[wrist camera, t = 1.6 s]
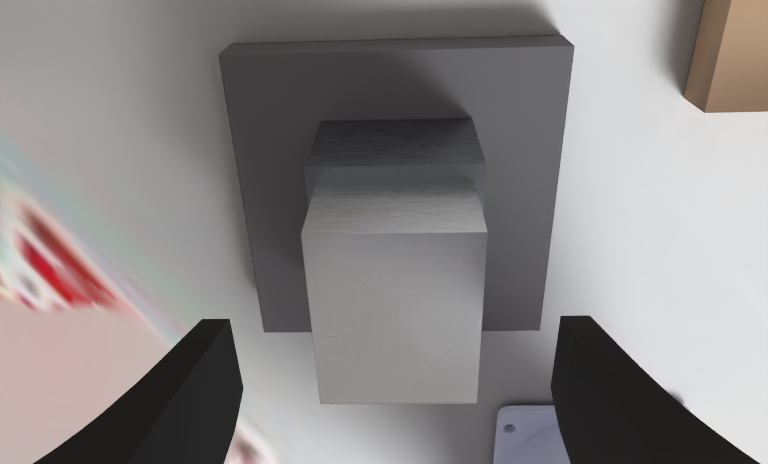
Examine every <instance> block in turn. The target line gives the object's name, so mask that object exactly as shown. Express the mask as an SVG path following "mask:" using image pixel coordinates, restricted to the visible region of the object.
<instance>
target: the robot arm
mask: <svg viewBox="0 0 768 464" xmlns="http://www.w3.org/2000/svg"><path fill="white" fill-rule="evenodd" d="M551 391H552V396H553V401H554V405H541V406H505V407H503V408H501V409H500V410H499V411H498V414H497V424H496V436H495V447H494V459H493V464H760V463H758V462H757V461H755V460H754V459H752V458H751V457H750V456H748V455H747V454H745V453H744V452H742V451H741V450H739V449H738V448H737V447H735V446H734V445H733V444H731V443H730V442H729V441H727V440H726V439H725V438H723V437H722V436H720V435H719V434H718V433H716V432H715V431H714V430H712V429H711V428H710V427H708V426H707V425H706V424H705V423H703V422H702V421H701V420H700V419H698V418H697V417H696V416H695V415H693V414H692V413H691V412H690V410H689V409H688V408H687V407H686V406H683V405H682V404H680V403H679V402H678V401H677V400H676V399H675V398H673V397H672V396H671V395H670V394H669V393H668V392H667V391H665V390H664V389H663V388H662V387H661V386H660V385H659V384H658V383H657V382H656V381H655V380H653V379H652V378H651V377H650V376H649V375H648V374H647V373H646V372H645V371H644V370H643V369H642V368H641V367H640V366H639V365H638V364H637V363H636V362H635V361H634V360H633V359H632V358H631V357H630V356H629V355H628V354H627V353H626V352H625V351H624V350H623V349H622V348H621V347H620V346H619V345H618V344H617V343H616V342H615V341H614V340H613V339H612V338H611V337H610V336H609V335H608V334H607V333H606V332H605V331H604V330H603V329H602V328H601V327H600V326H599V325H598V324H597V323H596V322H595V321H594V320H593V319H592V318H591V317H590V316H561V319H560V326H559V333H558V340H557V346H556V353H555V360H554V367H553V374H552V381H551ZM242 393H243V384H242V379H241V374H240V369H239V364H238V359H237V354H236V349H235V344H234V339H233V334H232V329H231V324H230V319H202V320H201V321H200V322H199V323H198V324H197V325H196V326H195V327H194V328H193V329H192V330H191V331H190V332H189V333H188V334H187V335H186V336H184V337H183V338H182V339H181V340H180V341H179V342H178V343H177V344H176V345H175V346H174V347H173V348H172V349H171V350H170V351H169V352H168V353H167V354H166V355H165V356H164V357H163V358H162V359H161V360H160V361H159V362H158V363H157V364H156V365H155V366H154V367H153V368H152V369H151V370H150V371H149V372H148V373H147V374H146V375H145V376H144V377H143V378H141V379H140V380H139V381H138V382H137V383H136V384H135V385H134V386H133V387H132V388H130V389H129V390H128V391H127V392H126V393H125V394H124V395H123V396H121V397H120V398H119V399H118V400H117V401H116V402H114V403H113V404H112V405H111V406H110V407H109V408H108V409H106V410H105V411H104V412H103V413H102V414H101V415H99V416H98V417H97V418H96V419H94V420H93V421H92V422H91V423H89V424H88V425H87V426H85V427H84V428H83V429H82V430H80V431H79V432H78V433H76V434H75V435H73V436H72V437H71V438H70V439H68V440H67V441H65V442H64V443H63V444H61V445H60V446H59V447H57V448H56V449H54V450H53V451H52V452H50V453H48V454H47V455H45V456H44V457H42V458H41V459H39V460H38V461H37V462H35V463H33V464H224V461H225V458H226V455H227V452H228V449H229V446H230V443H231V440H232V437H233V434H234V431H235V427H236V422H237V418H238V413H239V408H240V403H241V398H242ZM510 424H511V426H506V425H510Z"/></svg>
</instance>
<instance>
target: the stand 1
mask: <svg viewBox="0 0 768 464" xmlns="http://www.w3.org/2000/svg"><path fill="white" fill-rule="evenodd" d="M573 54H574V45H573V44H572V43H570V42H569V41H568V40H567V39H566V38H565V37H564V36H563V35H542V36H504V37H466V38H428V39H389V40H351V41H313V42H275V43H237V44H231V45H230V46H228V47H227V48H226V49H225V50H224V51H223V52H222V53H220V54H219V60H220V66H221V72H222V79H223V85H224V91H225V97H226V103H227V109H228V115H229V121H230V127H231V133H232V139H233V146H234V152H235V158H236V164H237V170H238V176H239V182H240V188H241V194H242V200H243V206H244V212H245V219H246V225H247V231H248V237H249V243H250V249H251V255H252V261H253V267H254V273H255V279H256V285H257V292H258V298H259V304H260V310H261V316H262V322H263V328H264V332H312V327H311V318H310V309H309V301H308V292H307V283H306V274H305V266H304V257H303V248H302V239H301V233H302V230H303V226H304V223H305V219H306V216H307V213H308V202H307V192H306V183H305V173H304V166H305V163H306V160H307V157H308V155H309V152H310V149H311V146H312V143H313V141H314V138H315V135H316V132H317V130H318V127H319V124H320V121H333V120H381V119H428V118H472V119H473V122H474V126H475V129H476V132H477V135H478V139H479V142H480V145H481V148H482V152H483V155H484V158H485V161H486V179H485V197H484V214H483V216H484V220H485V224H486V228H487V232H488V234H487V250H486V266H485V282H484V298H483V314H482V331H515V330H540V323H541V315H542V306H543V298H544V290H545V282H546V274H547V266H548V258H549V249H550V241H551V233H552V225H553V217H554V209H555V200H556V192H557V184H558V176H559V168H560V160H561V152H562V143H563V135H564V127H565V119H566V111H567V103H568V94H569V86H570V78H571V70H572V62H573Z"/></svg>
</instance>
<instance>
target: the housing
mask: <svg viewBox="0 0 768 464" xmlns="http://www.w3.org/2000/svg"><path fill="white" fill-rule="evenodd" d="M304 173H305V183H306V192H307V202H308V213H307V216H306V219H305V223H304V226H303V230H302V233H301V239H302V248H303V257H304V266H305V274H306V283H307V292H308V301H309V309H310V318H311V327H312V336H313V344H314V353H315V362H316V371H317V379H318V388H319V397H320V404H466V403H477V395H478V379H479V363H480V347H481V331H482V314H483V298H484V282H485V266H486V250H487V234H488V232H487V228H486V224H485V220H484V216H483V214H484V197H485V179H486V161H485V158H484V155H483V152H482V148H481V145H480V142H479V139H478V135H477V132H476V129H475V126H474V122H473V119H472V118H428V119H381V120H333V121H320V124H319V127H318V130H317V132H316V135H315V138H314V141H313V143H312V146H311V149H310V152H309V155H308V157H307V160H306V163H305V166H304Z"/></svg>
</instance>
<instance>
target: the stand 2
mask: <svg viewBox="0 0 768 464" xmlns="http://www.w3.org/2000/svg"><path fill="white" fill-rule="evenodd" d="M684 98H685V99H686V100H688V101H689V102H690V103H692V104H693V105H695V106H696V107H697V108H699V109H700V110H702V111H703V112H704V113H715V112H762V111H768V0H705V2H704V7H703V11H702V16H701V20H700V25H699V29H698V34H697V38H696V43H695V48H694V52H693V57H692V61H691V66H690V70H689V75H688V79H687V84H686V89H685V93H684Z"/></svg>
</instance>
